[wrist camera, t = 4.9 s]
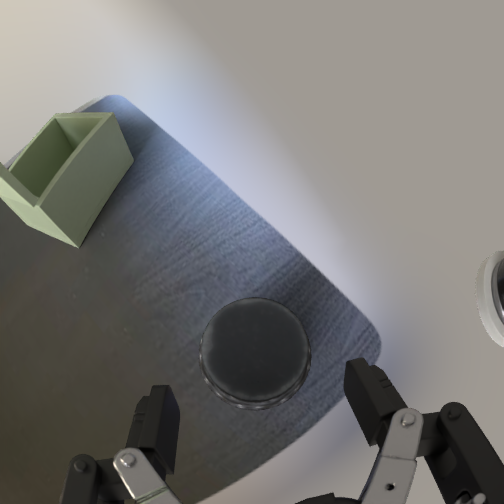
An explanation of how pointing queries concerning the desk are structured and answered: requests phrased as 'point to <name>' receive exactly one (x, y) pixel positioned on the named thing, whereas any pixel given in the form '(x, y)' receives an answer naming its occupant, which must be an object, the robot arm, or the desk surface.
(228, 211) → the desk surface
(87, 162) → the pale green open box
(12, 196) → the green box lid
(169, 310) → the desk surface
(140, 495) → the robot arm
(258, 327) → the pill bottle
